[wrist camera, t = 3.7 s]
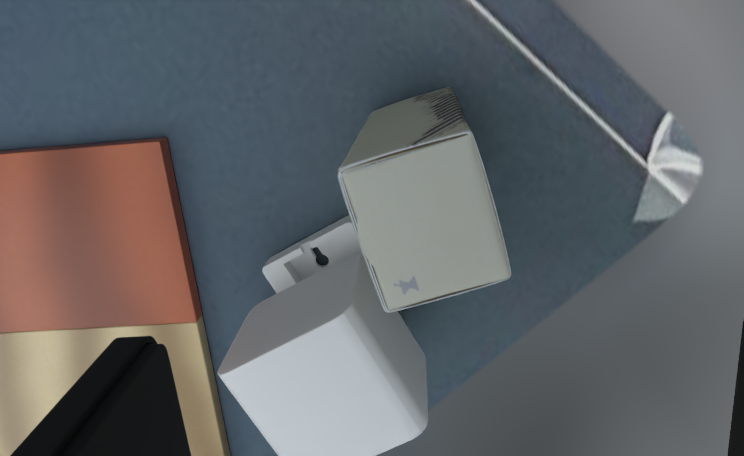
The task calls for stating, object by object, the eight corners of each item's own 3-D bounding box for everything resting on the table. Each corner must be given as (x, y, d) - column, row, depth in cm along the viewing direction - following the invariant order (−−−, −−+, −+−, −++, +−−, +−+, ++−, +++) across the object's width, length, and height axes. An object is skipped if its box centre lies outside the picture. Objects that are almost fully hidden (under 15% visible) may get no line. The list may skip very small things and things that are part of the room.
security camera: (326, 363, 35) (295, 492, 26) (258, 263, 34) (199, 363, 24) (424, 315, 34) (430, 433, 25) (359, 208, 32) (338, 292, 23)
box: (479, 180, 31) (521, 289, 19) (395, 205, 32) (385, 325, 20) (450, 78, 30) (477, 126, 18) (363, 106, 30) (330, 171, 18)
